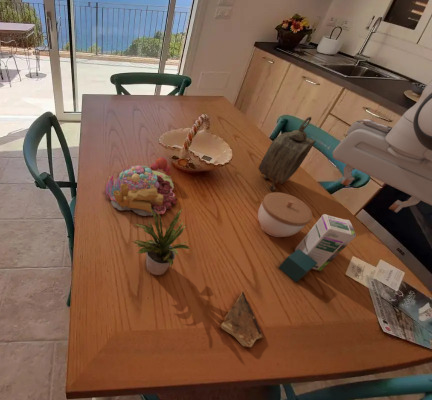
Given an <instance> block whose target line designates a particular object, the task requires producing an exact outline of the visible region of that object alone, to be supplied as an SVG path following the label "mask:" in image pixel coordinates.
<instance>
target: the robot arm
mask: <svg viewBox="0 0 432 400" xmlns="http://www.w3.org/2000/svg"><path fill="white" fill-rule="evenodd" d="M332 158H333V159H334V160H336V161H339V162H340V163H342V164H345V166H344V167H343V178H342V179H341V180H340V184H342V185H344V186H345V187H348V186H350V185H351V184H352V183H353V182H354V181H355V179H356V178H355V177H354V176H352V173H353V171H354V170H357V171H359V172H361V173H363V174H365V175H367V176H369V177H371V178H373V179H376V180H378V181H380V182H382V183H383V184H386V185H388V186H390V187H393V188H394V189H397V190H398V191H401V192H402V193H405V194H407V195H409V196H410V197H409V198H408V199H407V200H405V201H401V200H399V199H397V200H396V201H394V202H393V203H392V204H391V205H390V206H389V207H388V209H389V210H391V211H393V212H394V213H396V214H397V213H398V212H400V211H401V210H402V209H403V208H407V207H411V206H416V205H417V204H419V203H420V202H424V203H426V204H427V205H430V206H432V79H431V80H430V81H429V82H428V84H427V85H426V86H425V87H424V89H423V90H422V93H421V95H420V96H419V98H418V100H417V101H416V103H415V104H413V106H411V107H410V108H408V109H407V110H406V111H405V112H404V113H403V114H402V115H401V116H400V118H399V119H398V121H397V122H396V123H395V124H394V125H393V126H389V125H386V124H383V123H379V122H377V121H374V120H372V119H368V118H366V119H357V120H355V121H354V122H353V123H352V124H351V125H350V126H349V128H348V129H347V132H346V136H345V137H344V138H343V139H342V140H341V141H340V142H339V144H338V145H336V146H335V148H334V149H333V151H332Z"/></svg>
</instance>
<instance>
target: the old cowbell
mask: <svg viewBox="0 0 432 400" xmlns="http://www.w3.org/2000/svg"><path fill="white" fill-rule="evenodd" d="M311 121H312V117H311V116H308V117H307V118H306V119H305V120H304V121H303V122H302V123H301V125H300V126H299V129H294V130H292V131H285V132H283V133H281V134H280V135H278V136H277V137H276V138H274V139H273V141H272V142H271V144H270V145H269V147H268V148H267V150H266V152H265V154H264V156H263V158H262V160H261V162H260V163H259V166H258V171H259V173H260V174H261V175H263V178H264V179H266V180H268V179H271V180H272V185H271V186H270V187H269V190H270V191H274V192H275V190H276V186H275V185H276V182H277V183H279V184H281V185H283V184H284V183H286V182H287V181H288V180H289V179H290V178H291V177H292V176H293V175H294V174H295V173H296V172H297V171H298V169H299V168H300V166H301V165H302V164H303V162H304V161H305V159H306V158H307V156H308V154H309V153H310V151H311V150H312V149H313V146H314V145H315V143H316V140H314V139H312V138H309V137H308V133H307V132H305V129H306V128H307V127H308V126H309V124H310V122H311Z"/></svg>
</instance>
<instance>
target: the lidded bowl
mask: <svg viewBox="0 0 432 400" xmlns="http://www.w3.org/2000/svg"><path fill="white" fill-rule="evenodd" d="M312 219H313V213H312V210H311V208H310V207H309V206H308V205H307V204H306V203H305V202H304V201H302V200H301V199H300V198H298V197H296V196H294V195H291V194H289V193H285V192H278V191H274V192H270V193H267V194H266V195H264V197H263V199H262V201H261V203H260V205H259V208H258V210H257V220H258V223H259V225H260V228H261V229H262V230H263V232H264V233H266V234H267V235H269V236H271V237H274V238H287V237H291V236H294V235H296V234H298V233H299V232H301V231H302V230H303V229H304V228H305V227H306V226H307V224H309V223H310V222H311V221H312Z"/></svg>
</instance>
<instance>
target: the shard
mask: <svg viewBox="0 0 432 400" xmlns="http://www.w3.org/2000/svg"><path fill="white" fill-rule="evenodd" d="M220 328H221V329H222V330H223V331H225V333H228V334H230V335H231V336H232V337H233V338H235V340H237V341H238V343H239V344H240V345H241V346H242V347H246V348H253V346H254V344H255V342H256V341H257V340H259V339H261V338H263V337H264V336H263V333H262V331H261V328H260V326H259V324H258V321H257V319H256V316H255V314H254V312H253V310H252V307H251V306H250V303H249V302H248V300H247V297H246V295H245V293H244V291H242V292H241V293H240V295H239V296H238V298H237V300H236V302H235V303H234V304H233V305H232V306H231V308H230V309H229V310H228V312H227V313H226V315H225V316H224V320H223V321H222V323H221V325H220Z"/></svg>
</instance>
